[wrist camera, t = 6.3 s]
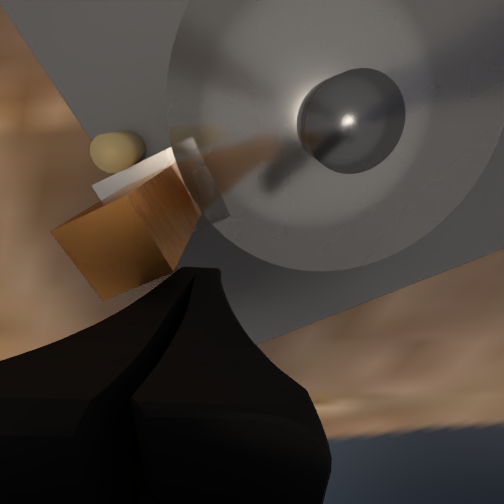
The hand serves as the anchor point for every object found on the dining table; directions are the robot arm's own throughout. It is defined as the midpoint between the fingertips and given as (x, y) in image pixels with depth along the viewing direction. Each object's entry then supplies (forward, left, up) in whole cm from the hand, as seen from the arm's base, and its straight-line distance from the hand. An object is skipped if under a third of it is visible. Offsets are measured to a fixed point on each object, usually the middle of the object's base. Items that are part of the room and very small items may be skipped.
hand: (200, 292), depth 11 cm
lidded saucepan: (-5, -3, -3) cm, 6 cm away
